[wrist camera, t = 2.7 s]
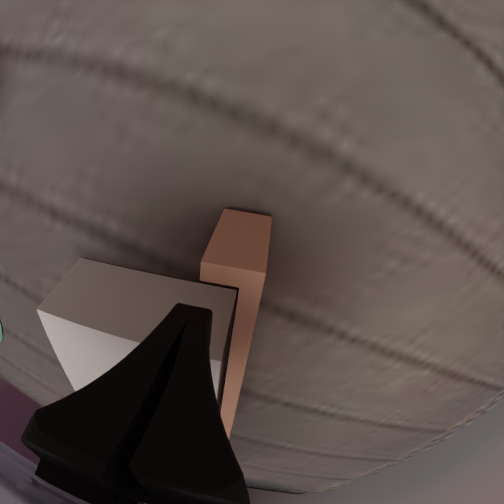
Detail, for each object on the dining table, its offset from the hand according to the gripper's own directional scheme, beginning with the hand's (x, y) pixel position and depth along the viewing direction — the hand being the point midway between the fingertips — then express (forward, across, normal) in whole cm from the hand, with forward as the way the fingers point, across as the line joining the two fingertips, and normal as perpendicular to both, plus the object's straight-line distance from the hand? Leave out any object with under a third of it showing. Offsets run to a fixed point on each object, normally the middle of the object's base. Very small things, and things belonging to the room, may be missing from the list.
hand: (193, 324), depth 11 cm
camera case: (+5, +4, +8) cm, 11 cm away
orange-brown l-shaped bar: (+5, -1, +7) cm, 8 cm away
